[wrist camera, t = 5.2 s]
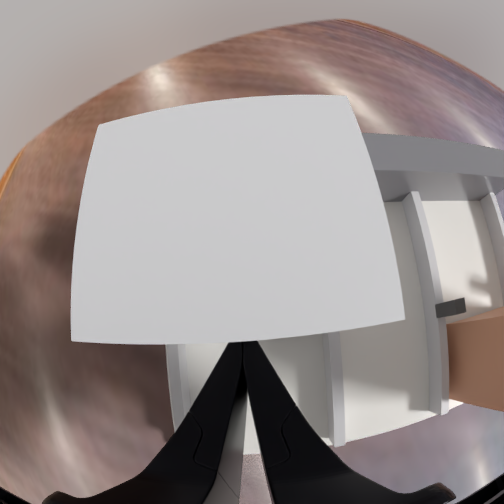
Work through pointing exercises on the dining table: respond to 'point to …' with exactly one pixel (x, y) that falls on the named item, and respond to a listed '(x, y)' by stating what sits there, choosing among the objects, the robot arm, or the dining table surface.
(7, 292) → the dining table surface
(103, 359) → the dining table surface
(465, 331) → the tall tan brick
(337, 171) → the tall white block
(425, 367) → the base
